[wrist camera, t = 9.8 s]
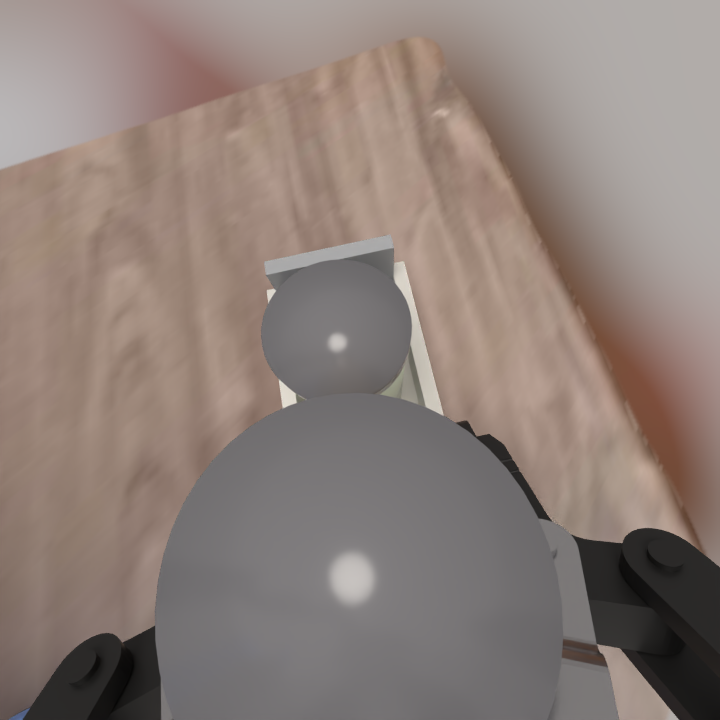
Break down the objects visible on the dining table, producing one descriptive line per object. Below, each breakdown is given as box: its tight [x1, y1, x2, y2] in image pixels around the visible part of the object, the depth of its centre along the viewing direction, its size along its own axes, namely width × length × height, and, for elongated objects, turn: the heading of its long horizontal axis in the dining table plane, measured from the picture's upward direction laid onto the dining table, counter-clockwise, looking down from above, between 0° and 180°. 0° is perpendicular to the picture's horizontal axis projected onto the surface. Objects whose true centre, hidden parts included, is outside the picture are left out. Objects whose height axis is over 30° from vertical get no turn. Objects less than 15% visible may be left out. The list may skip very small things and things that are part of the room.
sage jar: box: [261, 259, 412, 400], centre depth 19 cm, size 5×5×11 cm
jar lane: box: [264, 235, 444, 416], centre depth 21 cm, size 18×8×7 cm, turn 11°
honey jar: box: [155, 393, 563, 720], centre depth 10 cm, size 5×5×11 cm
